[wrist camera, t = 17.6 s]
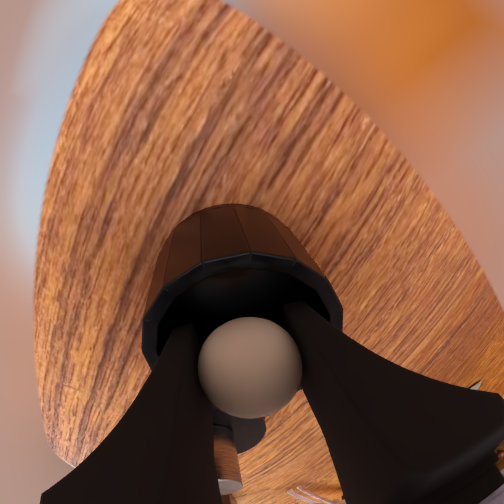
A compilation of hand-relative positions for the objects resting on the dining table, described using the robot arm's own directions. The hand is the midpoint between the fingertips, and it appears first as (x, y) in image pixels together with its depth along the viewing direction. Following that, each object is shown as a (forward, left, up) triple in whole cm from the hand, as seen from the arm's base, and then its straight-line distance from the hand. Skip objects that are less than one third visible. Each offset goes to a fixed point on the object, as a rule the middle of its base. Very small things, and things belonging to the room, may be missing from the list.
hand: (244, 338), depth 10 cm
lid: (-11, +4, -4) cm, 12 cm away
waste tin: (0, 0, -4) cm, 4 cm away
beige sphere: (0, 0, +1) cm, 1 cm away
